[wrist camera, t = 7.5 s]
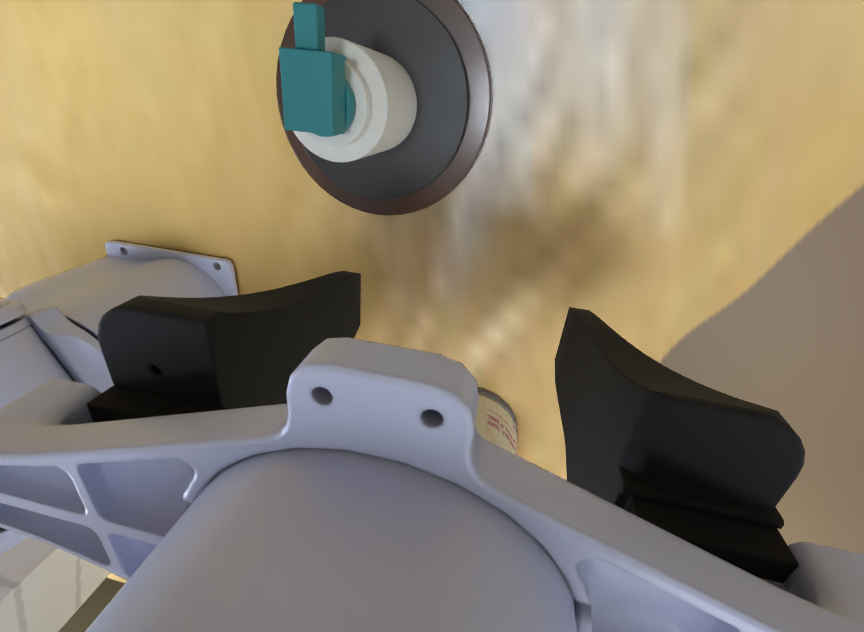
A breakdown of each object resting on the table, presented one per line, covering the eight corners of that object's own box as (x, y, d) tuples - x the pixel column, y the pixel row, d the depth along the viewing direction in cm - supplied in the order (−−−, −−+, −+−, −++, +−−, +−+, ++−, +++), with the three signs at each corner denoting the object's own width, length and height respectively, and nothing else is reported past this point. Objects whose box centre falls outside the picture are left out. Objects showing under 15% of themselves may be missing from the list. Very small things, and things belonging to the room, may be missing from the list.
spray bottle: (457, 208, 22) (428, 253, 15) (298, 186, 23) (206, 218, 16) (482, -4, 17) (458, -71, 11) (286, -17, 19) (154, -87, 12)
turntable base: (293, 198, 24) (283, 202, 23) (276, -39, 19) (263, -47, 18) (475, 223, 23) (474, 229, 22) (510, -26, 18) (510, -33, 17)
